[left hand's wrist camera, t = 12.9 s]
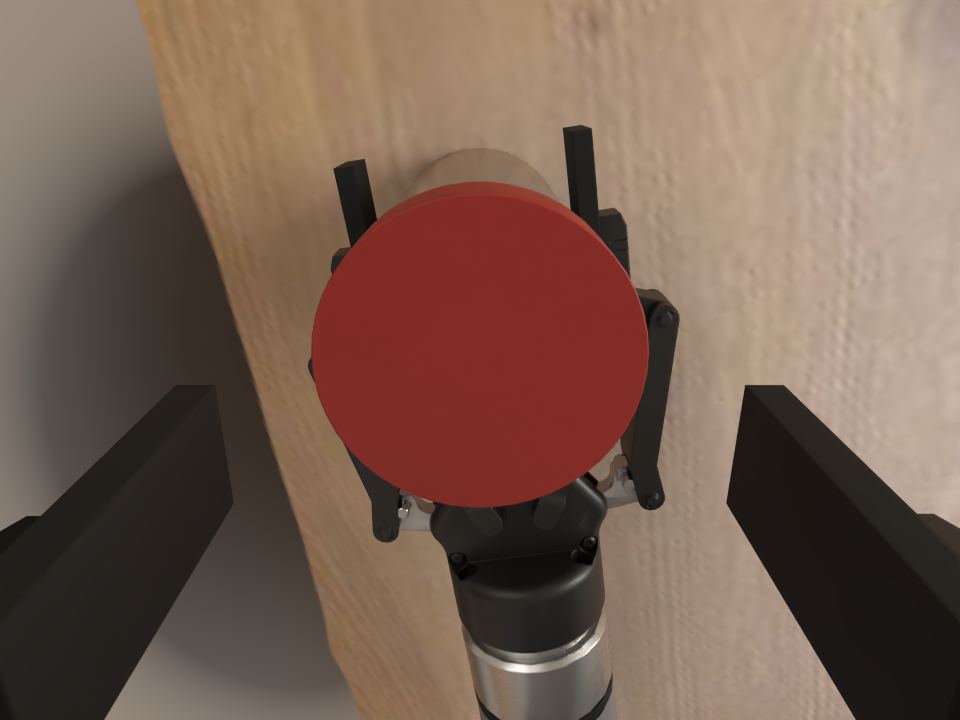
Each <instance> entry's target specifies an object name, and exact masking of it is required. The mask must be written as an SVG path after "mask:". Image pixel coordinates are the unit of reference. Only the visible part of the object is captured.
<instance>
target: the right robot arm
mask: <svg viewBox="0 0 960 720" xmlns="http://www.w3.org/2000/svg"><path fill="white" fill-rule="evenodd" d="M563 134H564V144H565V155H566V165H567V175H568V185H569V196H570V206H571V211H572V212H573V213H575V214H576V215H577V216H579V217H580V218H581V219H582V220H584V221H585V222H586V223H587V224H588V225H589V226H590V228H591V229H592V230H593V231H594V232H595V233H596V234H597V235H598V236H599V237H600V238H601V240H602V241H603V242H604V243H605V244H606V246H607V247H608V248H609V249H610V251H611V252H612V253H613V254H614V256H615V257H616V258H617V260H618V261H619V263H620V264H621V265H622V267H623V268H624V269H625V271H626V272H627V274H628V276H629V278H630V264H629V251H628V235H627V225H626V223H625V221H624V219H623V217H622V215H621V213H620V212H619V211H617V210H616V209H615V208H610V209H603V210H598V199H597V187H596V174H595V162H594V150H593V138H592V128H589V127H586V126H583V125H579V126H572V127H566V128H563ZM334 173H335V178H336V182H337V187H338V191H339V196H340V200H341V205H342V209H343V214H344V218H345V223H346V227H347V232H348V236H349V241H350V245H351V247H348V248H341V249H339V250H338V251H337V252H336V253H335V254H334V255H333V258H332V264H331V272H332V274H333V273H334V271H335V270H336V268H337V267H338V265H339V264H340V263H341V261H342V260H343V258H344V257H345V256H346V254H347V253H348V252H349V251H350V249H351V248H352V247H353V246H354V245H355V243H356V242H357V241H358V240H359V238H360V237H361V236H362V235H363V234H364V233H365V232H366V231H367V230H368V229H369V228H370V226H371V225H372V224H373V223H374V222H376V221H377V217H376V212H375V207H374V202H373V198H372V193H371V188H370V183H369V178H368V173H367V168H366V163H365V159H362V160H355V161H349V162H345V163H344V164H342V165H340V166H338V167H336V168H334ZM630 280H631V279H630ZM634 288H635V287H634ZM635 289H636V291H637V294H638V297H639V300H640V303H641V306H642V308H643V311H644V316H645V321H646V326H647V331H648V346H649V357H648V368H647V376H646V380H645V384H644V389H643V393H642V396H641V398H640V401H639V404H638V406H637V409H636V412H635V414H634V415H633V417H632V419H631V421H630V423H629V425H628V427H627V428H626V430H625V432H624V433H623V434H622V436H621V437H620V440H621V449H622V454H618V455H616V456H615V457H614V460H613V461H612V462H611V465H610V473H609V476H608V477H607V478H606V479H605V480H603V481H601V482H598V480H597V479H595V478H594V477H593V476H592V475H591V474H590V473H589V472H588V471H587V472H586V473H585V474H584V475H582V476H581V477H579V478H577V479H576V480H574V481H573V482H571V483H570V484H568V485H566V486H564V487H562V488H560V489H558V490H556V491H554V492H552V493H550V494H547V495H544V496H542V497H539V498H536V499H533V500H530V501H526V502H522V503H517V504H513V505H506V506H498V507H462V506H453V505H447V504H443V503H438V502H434V501H433V503H429V502H426V501H424V500H422V499H421V498H420V497H418V496H415V495H413V494H410V493H408V492H406V491H404V490H402V489H400V488H398V487H396V486H394V485H392V484H391V483H389V482H387V481H386V480H384V479H383V478H381V477H379V476H378V475H377V474H375V473H374V472H373V471H372V470H370V469H369V468H368V467H367V466H365V465H364V464H363V463H362V462H361V461H360V460H359V459H358V458H357V457H356V456H355V455H354V454H353V453H352V452H351V451H350V450H349V449H348V448H347V446H346V445H345V444H344V445H345V447H346V449H347V451H348V453H349V455H350V457H351V460H352V462H353V464H354V466H355V468H356V470H357V472H358V474H359V476H360V478H361V480H362V483H363V485H364V487H365V489H366V491H367V493H368V495H369V497H370V499H371V501H372V520H373V533H374V536H375V537H376V538H377V539H378V540H379V541H381V542H386V543H387V542H392V541H394V540H395V539H396V538H397V537H398V533H399V530H411V531H431V532H432V534H433V536H434V537H435V539H436V540H437V541H438V542H439V543H440V544H441V545H442V546H443V548H444V550H445V552H446V555H447V559H448V564H449V569H450V573H451V578H452V583H453V588H454V593H455V598H456V603H457V607H458V612H459V616H460V619H461V621H462V633H463V637H464V642H465V647H466V651H467V656H468V660H469V665H470V669H471V674H472V679H473V684H474V689H475V693H476V697H477V700H478V705H479V711H480V717H481V720H618V719H617V712H616V705H615V697H614V690H613V683H612V681H613V678H612V657H611V647H610V638H609V629H608V620H607V611H606V605H605V602H604V600H605V590H604V580H603V570H602V560H601V550H600V540H599V530H600V526H601V524H602V522H603V520H604V518H605V516H606V513H607V509H610V508H614V507H618V506H621V505H625V504H629V503H633V502H636V501H639V504H640V505H641V507H643V508H644V509H647V510H655V509H657V508H659V507H660V506H661V505H662V504H663V503H664V501H665V495H664V491H663V487H662V483H661V479H660V476H659V472H658V468H657V461H658V455H659V448H660V442H661V435H662V429H663V423H664V416H665V410H666V403H667V397H668V390H669V384H670V378H671V371H672V365H673V358H674V352H675V345H676V339H677V333H678V326H679V313H678V311H677V309H676V308H675V307H674V306H673V305H672V304H671V303H670V302H669V301H668V299H667V298H666V297H665V296H664V295H663V294H662V293H661V292H660V291H658V290H655V289H650V290H643V289H638V288H635ZM308 368H309V372H310V374H311V376H312V378H313V380H314V376H313V367H312V358H310V360H309V363H308ZM314 382H315V380H314ZM343 443H344V442H343Z"/></svg>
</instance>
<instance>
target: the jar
mask: <svg viewBox="0 0 960 720" xmlns="http://www.w3.org/2000/svg"><path fill="white" fill-rule="evenodd" d="M463 182H497V183H505V184H511V185H515V186H519V187H523V188H527V189H530V190H533V191H535V192H538V193H540V194H542V195H545V196H547V197H550V198H551V199H553V200H555V201H557V202H558V203H560V201H559V200H558V198H557V197H556V196H555V194H554V193H553V192H552V190H551V189H550V187H549V186H548V185H547V183H546V182H545V181H544V179H543V178H542V177H541V176H540V175H539V174H538V172H537V171H536V170H535V169H533V168H532V167H531V166H530V165H528V164H527V163H526V162H524V161H522V160H521V159H519V158H517V157H515V156H513V155H511V154H508V153H506V152H502V151H498V150H493V149H485V148H481V149H467V150H462V151H458V152H455V153H452V154H449V155H447V156H445V157H443V158H441V159H439V160H438V161H436V162H434V163H433V164H432V165H430V166H429V167H428V168H427V169H426V170H424V171H423V173H422V174H421V175H420V176H419V177H418V178H417V179H416V181H415V182H414V183H413V185H412V186H411V187H410V189H409V190H408V192H407V193H406V194H405V196H404V197H403V198H402V200H401V201H400V203H402V202H403V201H405V200H406V199H409V198H411V197H413V196H415V195H418V194H420V193H422V192H424V191H427V190H430V189H434V188H437V187H441V186H444V185H449V184H456V183H463ZM400 203H399V204H400ZM560 204H561V203H560Z"/></svg>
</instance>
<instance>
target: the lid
mask: <svg viewBox="0 0 960 720" xmlns="http://www.w3.org/2000/svg"><path fill="white" fill-rule="evenodd" d="M648 357H649V346H648V331H647V326H646V321H645V316H644V311H643V308H642V306H641V303H640V300H639V297H638V294H637V291H636V289H635V288H634V286H633V284H632V282H631V280H630V278H629V276H628V274H627V272H626V271H625V269H624V268H623V267H622V265H621V264H620V263H619V261H618V260H617V258H616V257H615V256H614V254H613V253H612V252H611V251H610V249H609V248H608V247H607V246H606V244H605V243H604V242H603V241H602V240H601V238H600V237H599V236H598V235H597V234H596V233H595V232H594V231H593V230H592V229H591V228H590V226H589V225H588V224H587V223H586V222H585V221H584V220H582V219H581V218H580V217H579V216H577V215H576V214H575V213H573V212H572V211H571V210H570V209H568V208H567V207H565V206H563V205H562V204H560V203H558V202H557V201H555V200H553V199H551V198H550V197H547V196H545V195H542V194H540V193H538V192H535V191H533V190H530V189H527V188H523V187H519V186H515V185H511V184H505V183H497V182H463V183H456V184H449V185H444V186H441V187H437V188H434V189H430V190H427V191H424V192H422V193H420V194H418V195H415V196H413V197H411V198H409V199H406V200H405V201H403V202H402V203H400V204H398V205H397V206H395V207H394V208H392V209H390V210H389V211H388V212H386V213H385V214H384V215H383V216H382V217H380V218H379V219H378V220H377V221H376V222H374V223H373V224H372V225H371V226H370V228H369V229H368V230H367V231H366V232H365V233H364V234H363V235H362V236H361V237H360V238H359V240H358V241H357V242H356V243H355V245H354V246H353V247H352V248H351V249H350V251H349V252H348V253H347V254H346V256H345V257H344V258H343V260H342V261H341V263H340V264H339V265H338V267H337V268H336V270H335V271H334V273H333V274H332V276H331V278H330V280H329V282H328V284H327V286H326V288H325V290H324V292H323V294H322V297H321V300H320V303H319V306H318V309H317V312H316V315H315V321H314V327H313V332H312V350H311V358H312V367H313V376H314V380H315V384H316V388H317V392H318V396H319V399H320V401H321V404H322V406H323V408H324V411H325V413H326V416H327V417H328V419H329V421H330V423H331V424H332V426H333V428H334V430H335V431H336V433H337V434H338V436H339V437H340V438H341V440H342V441H343V442H344V444H345V445H346V446H347V448H348V449H349V450H350V451H351V452H352V453H353V454H354V455H355V456H356V457H357V458H358V459H359V460H360V461H361V462H362V463H363V464H364V465H365V466H367V467H368V468H369V469H370V470H372V471H373V472H374V473H375V474H377V475H378V476H379V477H381V478H383V479H384V480H386V481H387V482H389V483H391V484H392V485H394V486H396V487H398V488H400V489H402V490H404V491H406V492H408V493H410V494H413V495H415V496H418V497H421V498H424V499H427V500H430V501H434V502H438V503H443V504H447V505H453V506H462V507H498V506H506V505H513V504H517V503H522V502H526V501H530V500H533V499H536V498H539V497H542V496H544V495H547V494H550V493H552V492H554V491H556V490H558V489H560V488H562V487H564V486H566V485H568V484H570V483H571V482H573V481H574V480H576V479H577V478H579V477H581V476H582V475H584V474H585V473H586V472H587V471H589V470H590V469H591V468H592V467H593V466H595V465H596V464H597V463H598V462H599V461H601V459H602V458H603V457H604V456H605V455H606V454H607V453H608V452H609V451H610V450H611V449H612V448H613V447H614V445H615V444H616V443H617V441H618V440H619V438H620V437H621V436H622V434H623V433H624V432H625V430H626V428H627V427H628V425H629V423H630V421H631V419H632V417H633V415H634V414H635V412H636V409H637V406H638V404H639V401H640V398H641V396H642V393H643V389H644V384H645V380H646V376H647V368H648Z"/></svg>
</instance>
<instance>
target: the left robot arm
mask: <svg viewBox="0 0 960 720" xmlns="http://www.w3.org/2000/svg"><path fill="white" fill-rule="evenodd" d="M233 503H234V502H233V496H232V490H231V484H230V477H229V471H228V465H227V459H226V453H225V446H224V440H223V434H222V427H221V421H220V415H219V409H218V402H217V396H216V390H215V385H176V386H175V387H174V388H173V389H172V390H171V391H170V392H169V393H168V394H167V395H166V396H164V397H163V398H162V399H161V400H160V401H159V402H158V403H157V404H156V405H155V406H154V407H153V408H152V409H151V410H150V411H149V412H148V413H147V414H146V415H145V416H144V417H143V418H142V419H141V420H140V421H139V422H138V423H137V424H135V425H134V426H133V427H132V428H131V429H130V430H129V431H128V432H127V433H126V434H125V435H124V436H123V437H122V438H121V439H120V440H119V441H118V442H117V443H116V444H115V445H114V446H113V447H112V448H111V449H110V450H109V451H108V452H107V453H105V454H104V455H103V456H102V457H101V458H100V459H99V460H98V461H97V462H96V463H95V464H94V465H93V466H92V467H91V468H90V469H89V470H88V471H87V472H86V473H85V474H84V475H83V476H82V477H81V478H80V479H79V480H78V481H77V482H75V483H74V484H73V485H72V486H71V487H70V488H69V489H68V490H67V491H66V492H65V493H64V494H63V495H62V496H61V497H60V498H59V499H58V500H57V501H56V502H55V503H54V504H53V505H52V506H51V507H50V508H49V509H48V510H47V511H45V512H44V513H43V514H42V515H41V516H26V517H24V518H23V519H21V520H19V521H17V522H16V523H14V524H12V525H10V526H9V527H7V528H5V529H3V530H2V531H0V720H104V719H105V717H106V716H107V714H108V712H109V711H110V709H111V707H112V706H113V704H114V702H115V701H116V699H117V697H118V696H119V694H120V692H121V691H122V689H123V687H124V686H125V684H126V682H127V681H128V679H129V677H130V676H131V674H132V672H133V671H134V669H135V667H136V666H137V664H138V662H139V660H140V659H141V657H142V656H143V654H144V652H145V651H146V649H147V647H148V645H149V644H150V642H151V641H152V639H153V637H154V636H155V634H156V632H157V631H158V629H159V627H160V626H161V624H162V622H163V620H164V619H165V617H166V615H167V614H168V612H169V610H170V609H171V607H172V605H173V604H174V602H175V600H176V599H177V597H178V595H179V594H180V592H181V590H182V589H183V587H184V585H185V584H186V582H187V580H188V579H189V577H190V575H191V574H192V572H193V570H194V569H195V567H196V565H197V564H198V562H199V560H200V558H201V557H202V555H203V554H204V552H205V550H206V548H207V547H208V545H209V544H210V542H211V540H212V539H213V537H214V535H215V534H216V532H217V530H218V529H219V527H220V525H221V524H222V522H223V520H224V519H225V517H226V515H227V514H228V512H229V510H230V508H231V507H232V505H233ZM726 503H727V505H728V507H729V509H730V510H731V512H732V514H733V515H734V517H735V519H736V520H737V522H738V524H739V525H740V527H741V529H742V530H743V532H744V534H745V535H746V537H747V539H748V540H749V542H750V544H751V545H752V547H753V549H754V550H755V552H756V554H757V555H758V557H759V559H760V560H761V562H762V564H763V565H764V567H765V569H766V570H767V572H768V574H769V575H770V577H771V579H772V580H773V582H774V584H775V585H776V587H777V589H778V590H779V592H780V594H781V595H782V597H783V599H784V600H785V602H786V604H787V605H788V607H789V609H790V610H791V612H792V614H793V615H794V617H795V619H796V620H797V622H798V624H799V626H800V627H801V629H802V631H803V632H804V634H805V636H806V637H807V639H808V641H809V642H810V644H811V646H812V647H813V649H814V651H815V652H816V654H817V656H818V657H819V659H820V661H821V662H822V664H823V666H824V667H825V669H826V671H827V672H828V674H829V676H830V677H831V679H832V681H833V682H834V684H835V686H836V687H837V689H838V691H839V692H840V694H841V696H842V697H843V699H844V701H845V702H846V704H847V706H848V707H849V709H850V711H851V712H852V714H853V716H854V717H855V719H856V720H960V528H958V527H956V526H954V525H953V524H951V523H949V522H947V521H945V520H944V519H942V518H940V517H938V516H937V515H935V514H917V513H916V512H915V511H913V510H912V509H911V508H910V507H909V506H908V505H907V504H906V503H905V502H904V501H903V500H902V499H901V498H900V497H899V496H898V495H897V494H896V493H895V492H894V491H893V490H892V489H891V488H890V487H889V486H888V485H887V484H886V483H885V482H883V481H882V480H881V479H880V478H879V477H878V476H877V475H876V474H875V473H874V472H873V471H872V470H871V469H870V468H869V467H868V466H867V465H866V464H865V463H864V462H863V461H862V460H861V459H860V458H859V457H858V456H857V455H856V454H855V453H853V452H852V451H851V450H850V449H849V448H848V447H847V446H846V445H845V444H844V443H843V442H842V441H841V440H840V439H839V438H838V437H837V436H836V435H835V434H834V433H833V432H832V431H831V430H830V429H829V428H828V427H827V426H826V425H825V424H823V423H822V422H821V421H820V420H819V419H818V418H817V417H816V416H815V415H814V414H813V413H812V412H811V411H810V410H809V409H808V408H807V407H806V406H805V405H804V404H803V403H802V402H801V401H800V400H799V399H798V398H797V397H796V396H795V395H793V394H792V393H791V392H790V391H789V390H788V389H787V388H786V387H785V386H784V385H745V390H744V396H743V402H742V409H741V415H740V421H739V427H738V434H737V440H736V446H735V452H734V459H733V465H732V471H731V477H730V483H729V490H728V496H727V502H726Z"/></svg>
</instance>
